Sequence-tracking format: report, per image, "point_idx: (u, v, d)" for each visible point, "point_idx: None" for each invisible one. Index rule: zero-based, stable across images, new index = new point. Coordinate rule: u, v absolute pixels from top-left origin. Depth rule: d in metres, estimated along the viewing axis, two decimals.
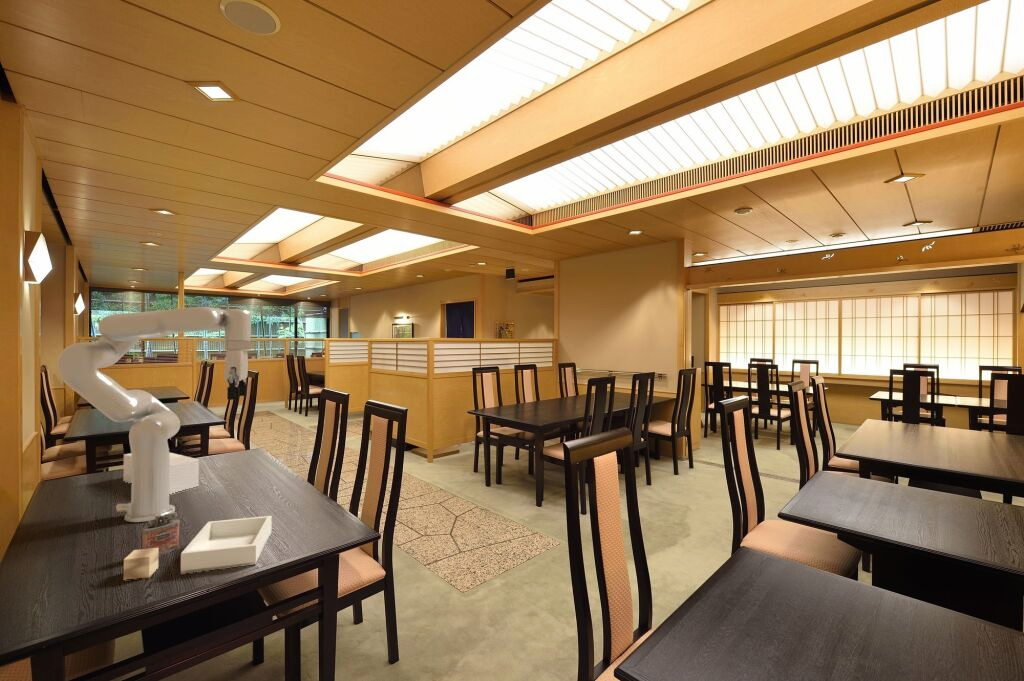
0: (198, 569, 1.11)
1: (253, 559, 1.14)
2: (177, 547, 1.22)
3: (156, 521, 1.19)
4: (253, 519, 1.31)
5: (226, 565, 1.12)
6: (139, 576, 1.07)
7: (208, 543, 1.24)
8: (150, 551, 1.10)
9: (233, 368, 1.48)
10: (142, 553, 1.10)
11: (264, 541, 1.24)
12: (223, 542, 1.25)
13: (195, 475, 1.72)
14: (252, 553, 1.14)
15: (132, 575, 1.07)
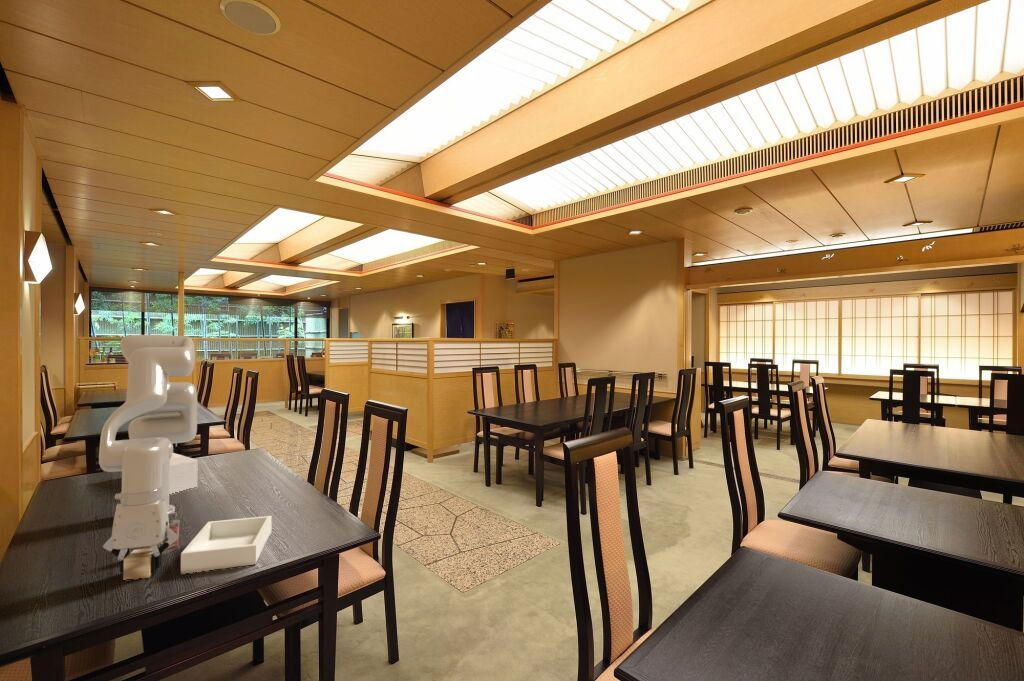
0: (198, 569, 1.11)
1: (253, 559, 1.14)
2: (177, 547, 1.22)
3: None
4: (253, 519, 1.31)
5: (226, 565, 1.12)
6: (139, 576, 1.07)
7: (208, 543, 1.24)
8: (150, 551, 1.10)
9: (166, 526, 1.11)
10: (142, 553, 1.10)
11: (264, 541, 1.24)
12: (223, 542, 1.25)
13: (194, 476, 1.71)
14: (252, 553, 1.14)
15: (132, 575, 1.07)
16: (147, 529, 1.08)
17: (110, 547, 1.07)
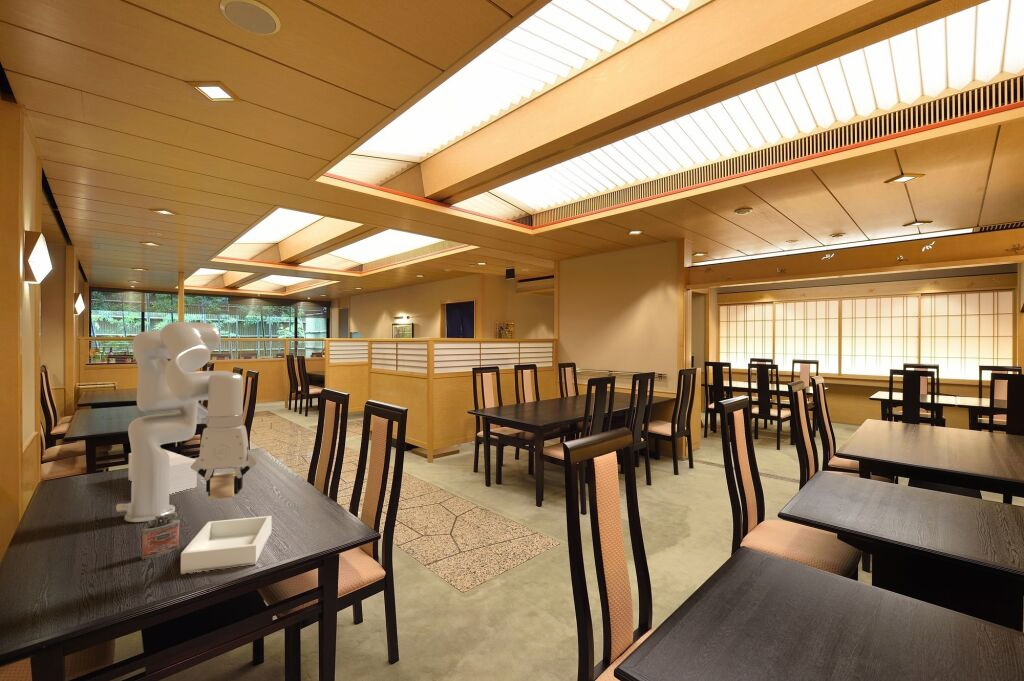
0: (198, 569, 1.11)
1: (253, 559, 1.14)
2: (177, 547, 1.22)
3: (156, 521, 1.19)
4: (253, 519, 1.31)
5: (226, 565, 1.12)
6: (224, 495, 1.14)
7: (208, 543, 1.24)
8: (232, 474, 1.17)
9: (247, 451, 1.18)
10: (225, 475, 1.16)
11: (264, 541, 1.24)
12: (223, 542, 1.25)
13: (193, 476, 1.71)
14: (252, 553, 1.14)
15: (217, 494, 1.13)
16: (231, 451, 1.14)
17: (196, 468, 1.14)
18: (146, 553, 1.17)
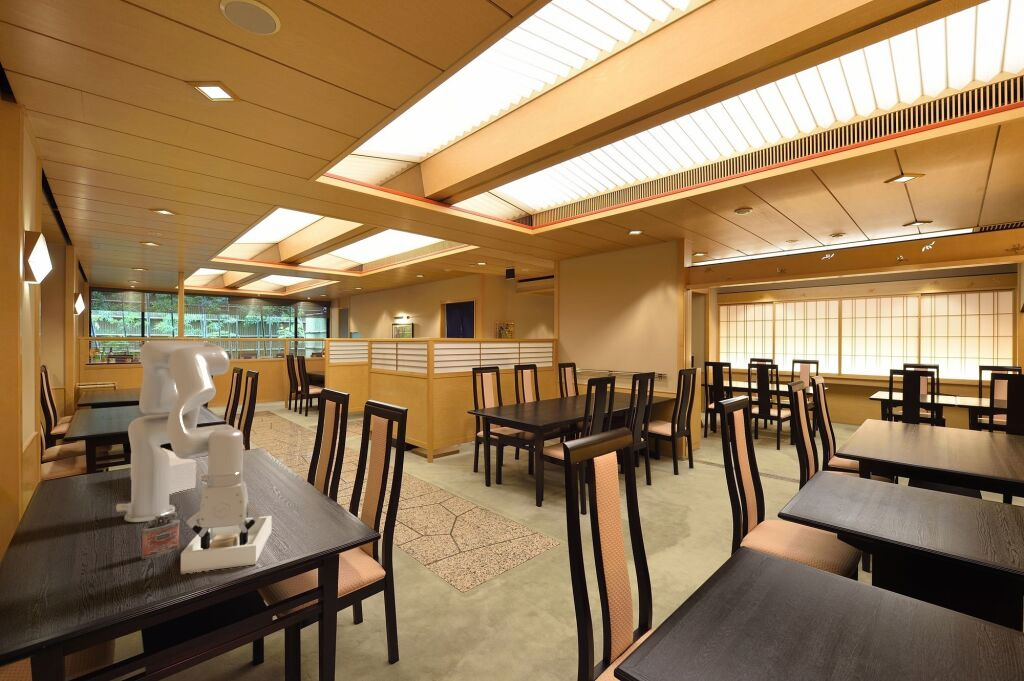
0: (198, 569, 1.11)
1: (253, 559, 1.14)
2: (177, 547, 1.22)
3: (156, 522, 1.19)
4: None
5: (226, 565, 1.12)
6: None
7: None
8: (232, 537, 1.17)
9: (248, 505, 1.18)
10: (225, 538, 1.16)
11: (264, 541, 1.24)
12: None
13: (192, 476, 1.70)
14: (252, 553, 1.14)
15: None
16: (231, 509, 1.14)
17: (192, 524, 1.14)
18: (146, 553, 1.17)
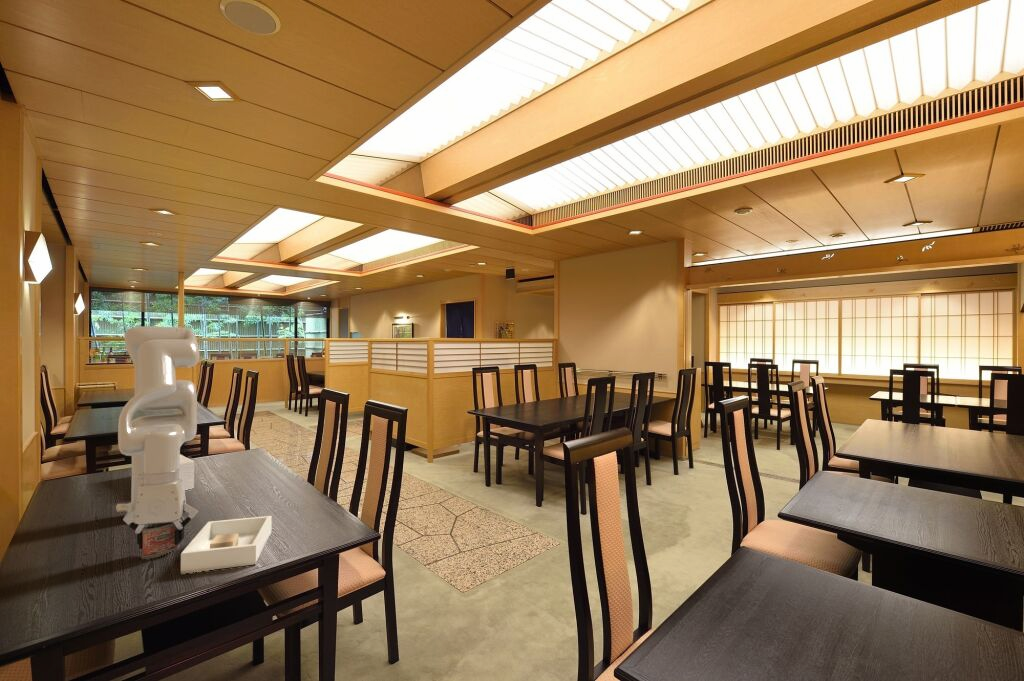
0: (198, 569, 1.11)
1: (253, 559, 1.14)
2: (177, 547, 1.22)
3: None
4: (253, 519, 1.31)
5: (226, 565, 1.12)
6: None
7: (208, 543, 1.24)
8: (232, 537, 1.17)
9: (184, 503, 1.22)
10: (225, 538, 1.16)
11: (264, 541, 1.24)
12: None
13: (190, 477, 1.69)
14: (252, 553, 1.14)
15: None
16: (167, 506, 1.18)
17: (128, 521, 1.17)
18: (146, 553, 1.17)
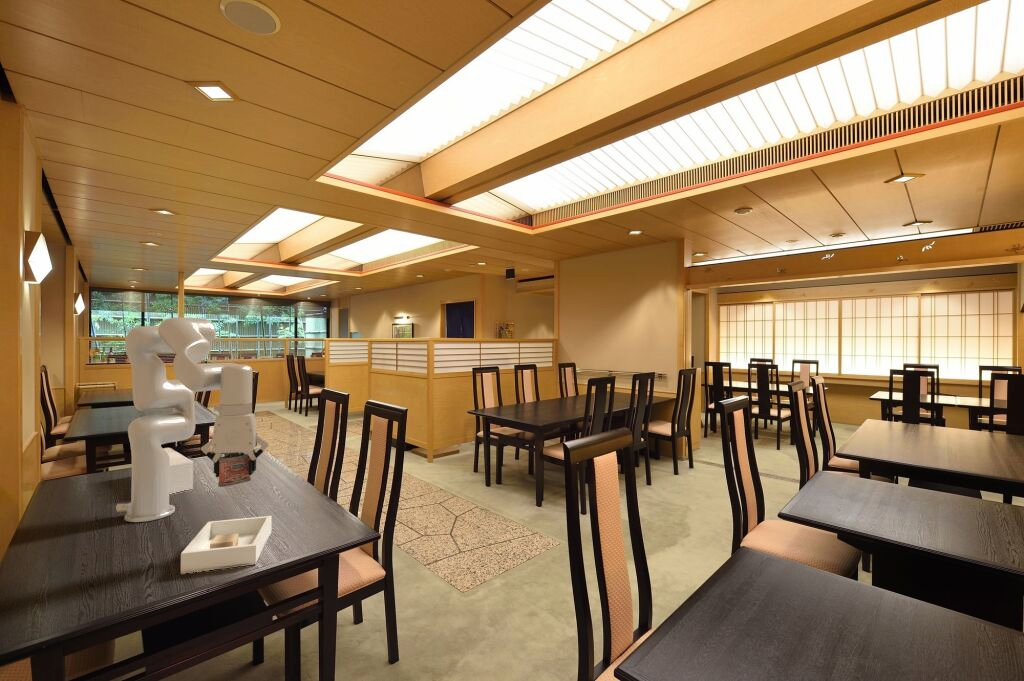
0: (198, 569, 1.11)
1: (253, 559, 1.14)
2: (249, 478, 1.27)
3: None
4: (253, 519, 1.31)
5: (226, 565, 1.12)
6: None
7: (208, 543, 1.24)
8: (232, 537, 1.17)
9: (257, 436, 1.27)
10: (225, 538, 1.16)
11: (264, 541, 1.24)
12: None
13: (189, 477, 1.69)
14: (252, 553, 1.14)
15: None
16: (242, 437, 1.23)
17: (206, 450, 1.23)
18: (223, 481, 1.22)
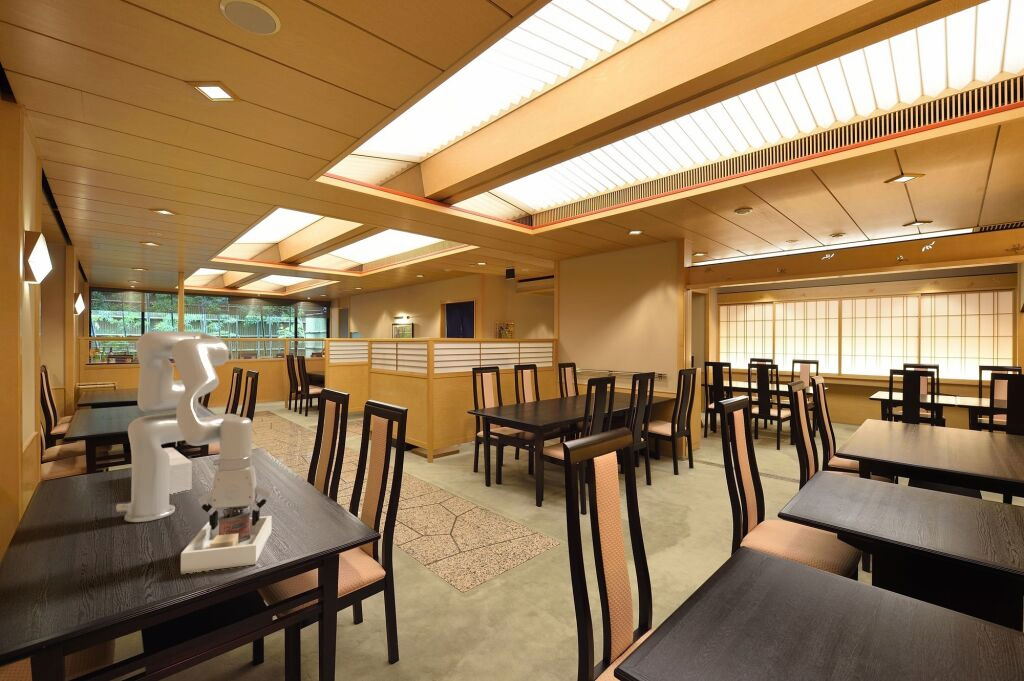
0: (198, 569, 1.11)
1: (253, 559, 1.14)
2: (249, 536, 1.27)
3: (231, 512, 1.24)
4: None
5: (226, 565, 1.12)
6: None
7: (208, 543, 1.24)
8: (232, 537, 1.17)
9: (256, 487, 1.27)
10: (225, 538, 1.16)
11: (264, 541, 1.24)
12: None
13: (188, 478, 1.68)
14: (252, 553, 1.14)
15: None
16: (241, 491, 1.23)
17: (202, 502, 1.22)
18: None
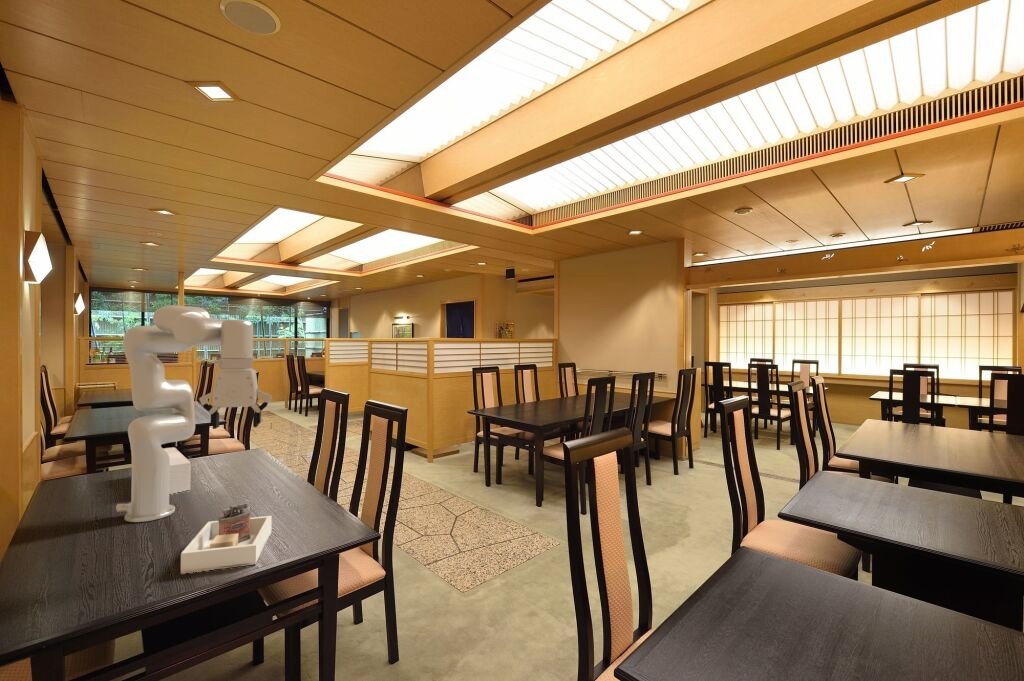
0: (198, 569, 1.11)
1: (253, 559, 1.14)
2: (249, 536, 1.27)
3: (231, 512, 1.24)
4: (253, 519, 1.31)
5: (226, 565, 1.12)
6: None
7: (208, 543, 1.24)
8: (232, 537, 1.17)
9: (258, 390, 1.27)
10: (225, 538, 1.16)
11: (264, 541, 1.24)
12: None
13: (186, 478, 1.68)
14: (252, 553, 1.14)
15: None
16: (243, 391, 1.23)
17: (203, 401, 1.22)
18: None
